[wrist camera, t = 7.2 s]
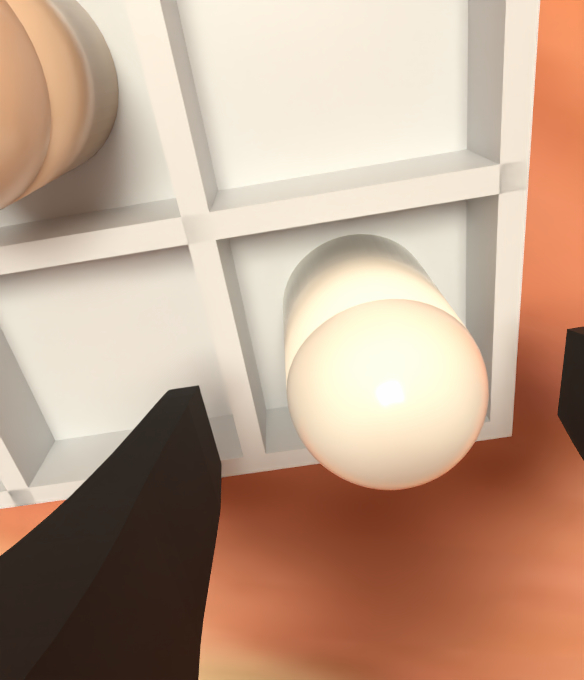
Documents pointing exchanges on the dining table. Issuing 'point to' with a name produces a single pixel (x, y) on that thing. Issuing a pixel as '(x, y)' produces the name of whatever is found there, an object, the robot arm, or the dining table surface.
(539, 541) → the dining table surface
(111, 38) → the egg carton
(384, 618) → the dining table surface
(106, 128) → the brown egg
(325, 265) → the cream egg
